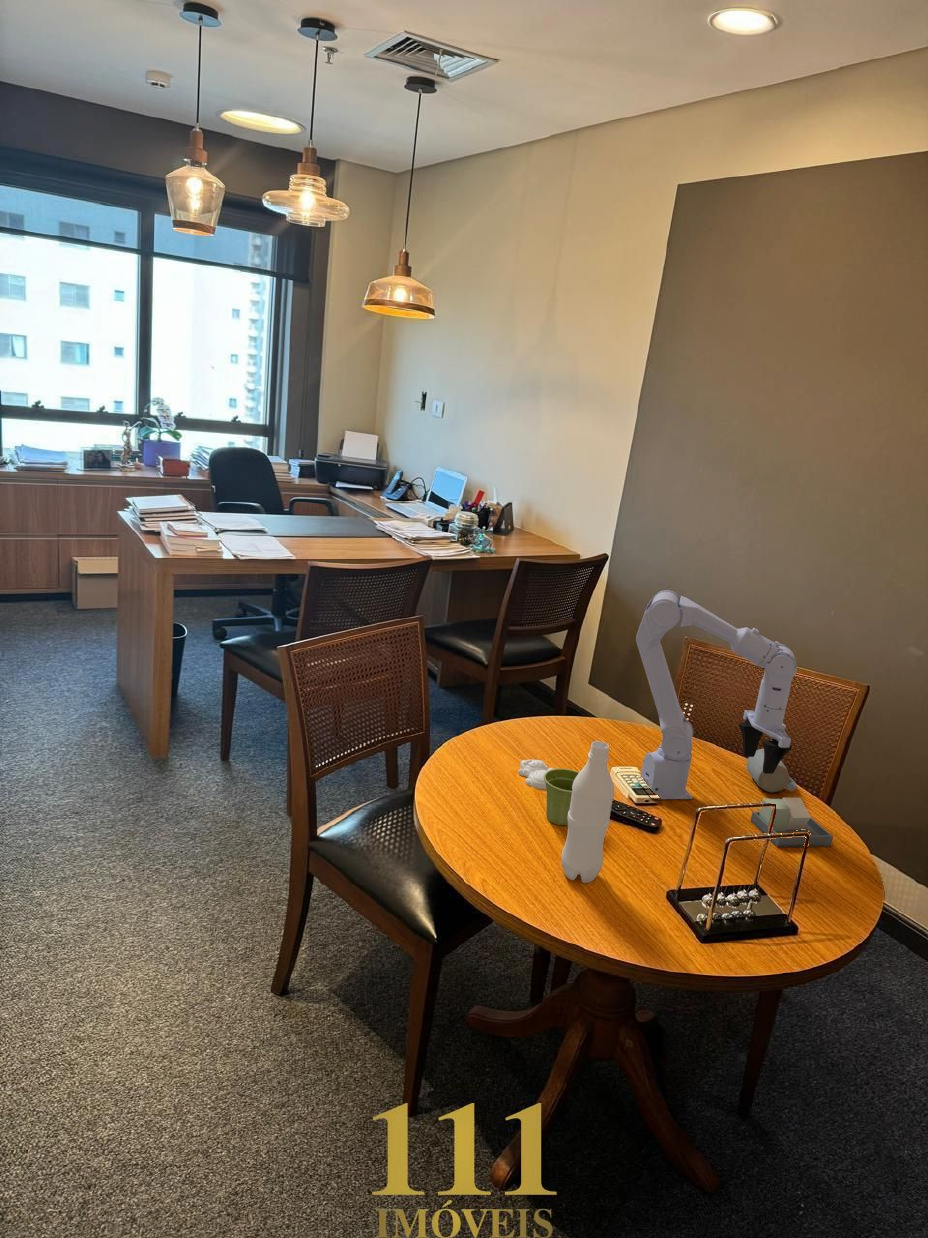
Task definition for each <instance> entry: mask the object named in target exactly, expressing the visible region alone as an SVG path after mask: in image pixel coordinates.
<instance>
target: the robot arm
mask: <svg viewBox="0 0 928 1238" xmlns="http://www.w3.org/2000/svg"><path fill="white" fill-rule="evenodd" d="M679 622H680V623H679ZM678 623H679V627H681V628H682V627H683V628H684V627H689V626H690V627H692V626H695V627H698V628H700V629H702V630H703V631H706V632H707V633H709V634H712V635H713V636H715V637H717V638H720V639H721V640H723V641H725V642H727V643H729V646H730V650H731V652H733V653H734V654H736V655H738V656H740V657H742V658H743V659H745V660H746V661H748V662H750V663H752V664H753V665H755V666H757V667H760V668H763V669H764V671H763V672H764V673H763V677H762V679H761V681H760V684H759V685H760V687H759V690H758V695H757V700H756V704H755V709H754V710H753V709H752V710H751V709H750V710H746V709H745V710H744V713H743V716H742V717H743V718H742V719H743V720H745V721H743V722H742V721H741V722H739V723H738V727H739V730H740V732H741V738H742V746H743V748H742V749H743V756H744V757H745V758H749V757H754V755H755V753H756V750H758V747H759V743H760V741H761V738H762V737H763V735H764V734H765V735H766V736H768V737H769V738H770V739H771V740H762V743H761V744H762V745H763V749H764V762H763V772H764V773H765V774H773V773H774V771H775V770H776V768H777V766H778V764H779V762H780V761H782V759H783V758H784V757H785V756H786V755H787V754H788V753H789V752H790V751H791V750H792V744H791V742H792V739H791V738H790V737H789V735H788V733H787V732H786V730H785V729H786V727H787V725H786V724H784V719H785V713H786V709H787V705H788V701H789V697H790V691H791V684H792V681H793V678H794V677H795V675H796V674H797V672H798V666H797V664H798V663H797V661H796V656H795V655H794V652H793V651H792V650H791V649H790V648H789V647H788V646H787V645H786V644H782V643H780V642H779V641H777V640H775V641H772V640H771V639H768V637H764V636H763V635H761V634H760V630H758V629H757V628H756V627H753V628H752V629H751V628H749V627H741V628H737V627H735V626H734V625H732V624H730V623H728V622H727V621H725V620H724V619H722V618H720V617H718V615H716V614H714V613H713V612H711V611H709V610H708V609H706V608H705V607H703V606H701V605H699V604H698V603H696V602H694V601H693V600H691V599H690V598H688V597H686V596H683V595H680V596H679V595H678V593H676V592H675V591H673V590H669V589H665V590H660V591H658V592H657V593H656V594H654V596H653V597H652V598H651V599H650V601H649V602H648V603H647V605H646V607H645V610H644V613H643V616H642V618H641V622H640V624H639V627H638V629H637V633H636V636H635V642H636V646H637V649H638V653H639V655H640V659H641V662H642V664H643V665H642V666H643V669H644V672H645V676H646V678H647V681H648V684H649V685H648V686H649V688H650V692H651V695H652V697H653V702H654V704H655V705H654V706H655V707H656V711H657V714H658V718H659V719H658V720H659V725H660V732H661V734H662V740H661V744H660V745H659V746H658V747H657V750H655V751H653V752H647V753H645V756H644V757H643V761H642V767H641V772H640V777H642V778H643V780H644V781H645V782H646V784H647V785H648V786H649V787H650V788H651V790H652V791H653V792H654V793H655V794H656V795H658V796H659V797H660V798H661V799H660V800H692V799H693V795H692V794H691V793H689V791H688V790H687V785H688V784H687V783H688V779H689V774H690V770H691V769H690V768H691V763H692V758H693V753H692V751H693V736H694V727H693V725H692V724H691V722H689V721H688V720H687V719H686V717H685V714H684V711H683V709H682V708H681V705H680V702H679V699H678V696H677V692H676V689H675V685H674V683H673V679H672V676H671V672H670V669H669V665H668V662H667V659H666V656H665V653H664V649H663V646H662V643H661V641H662V639H663V638H664V636H665V634H666V633H667V632H668V631H670V630H671V629H672V628H674V627H675V626H676V625H677V624H678Z"/></svg>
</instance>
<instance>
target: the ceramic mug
mask: <svg viewBox="0 0 928 1238" xmlns="http://www.w3.org/2000/svg"><path fill="white" fill-rule="evenodd" d="M763 762H764V748H760V749H757V750H756V753H755V755H754V757H747V761H746V770H747V772H748V773H749V775H750V776H751V777H752V779H753V780H754V781H755V783H756V784H757V786H758V787H759V788H761V789H762V790H763V791H764V792H767V793H778V792H781V791H782V790H784V789H786V791H790V792H795V790H796V789H797V787H798V784H797V783H796V781H794V779H793V778H791V777H790V775H789V770H788V769H787V767H786V765H785V764H784V762H783V761H782V760H781V761H780V762H779V764H778V766H777V768H776V770H775V771H774V773H773V774H765V773H764V772H763Z"/></svg>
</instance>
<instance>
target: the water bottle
mask: <svg viewBox="0 0 928 1238" xmlns="http://www.w3.org/2000/svg"><path fill="white" fill-rule="evenodd" d="M609 750H610V745H609V744H608V743H606V742H604V741H600V740H595V741H592V742H591V745H590V750H589V752H588V754H587V757H588V758H587V762H586V764H584V767H582V769H581V770H580V771H578V772H579V774H578V775H577V776H576V778H575V780H574V782H573V785H572V796H571V803H570V810H569V812H568V826H567V836H566V840H565V844H564V845H563V847H562V849H561V851H562V852H561V856H560V857H561V858H560V859H561V860H560V862H561V866H562V868H563V872H564V874H565V876H566V878H567V879H569V880H571V881H574V880H576V878H577V877H578V876H579V875H580V880H581V881H582V882H581V883H584V884H588V883H591V882H592V881H594V880H595V879H596V877H597V876H599V874H600V873H601V871H602V869H603V863H604V852H603V851H604V840H605V836H606V832H607V830H608V827H609V826H610V821H611V820H610V817H611V813H612V804H613V799H614V796H615V786H614V785H615V784H614V782H613V779H612V776H611V773H610V771H609V769H608V768H609V767H608V761H610V757H609V756H610V754H609V752H610V751H609Z"/></svg>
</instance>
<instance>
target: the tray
mask: <svg viewBox="0 0 928 1238" xmlns="http://www.w3.org/2000/svg"><path fill="white" fill-rule="evenodd" d="M759 813H760V810H758V811H752V813H751V817H750V823H752V824H753V826H755V827H756V828H757V829H758V830H759V831H760V832H761V833H762V834H763V833H768V827H769V825H768V824H767V823H766V822H765V821H764V820H763V819H762V818H761V817H760V816H759ZM810 817H811V818H810V820H809V821H808V823H807V824H806V826H805V827H804V829H806V830H798V831H796V830H786V831H775V830H773V829H772V831H771V833H774V834H775V833H793V832H808V830H809V831H810V832H808V833H809V834H810V833H811V835H810V836H809V848H811V847H813V846H814V847H816V846H818V847H831V846H832V843H833V839H834V835H833V834H831V833H830V832H829V831H828V830H827V829H825V828H824V827H823V826H822V825H821V824H820V823H819V822H817V820H815V819H814V818H813V817H812V816H810ZM805 839H806V838H805V837H792V838H776V839H771V840H769V841H770V842H771V843H772V844H773V845H774V846H775V848H804V847H803V845H804V843H805ZM810 846H811V847H810ZM814 847H813V848H814Z"/></svg>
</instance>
